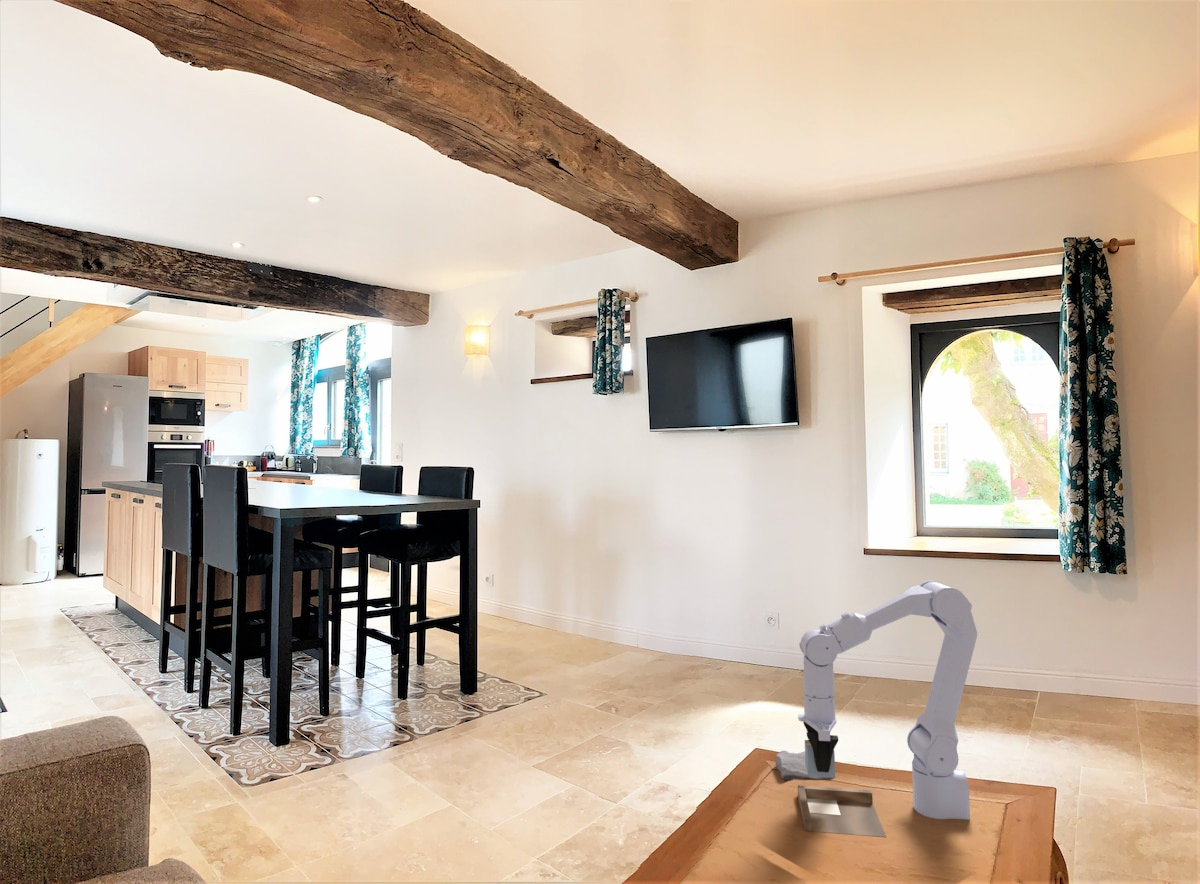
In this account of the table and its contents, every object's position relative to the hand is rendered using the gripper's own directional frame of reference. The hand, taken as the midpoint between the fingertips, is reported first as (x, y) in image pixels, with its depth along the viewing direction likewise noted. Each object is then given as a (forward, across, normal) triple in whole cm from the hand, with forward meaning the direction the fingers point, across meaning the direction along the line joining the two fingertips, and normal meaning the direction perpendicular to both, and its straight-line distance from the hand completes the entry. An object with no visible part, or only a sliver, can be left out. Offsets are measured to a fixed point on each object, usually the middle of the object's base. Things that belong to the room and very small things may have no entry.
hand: (821, 765), depth 137 cm
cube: (+1, 0, 0) cm, 1 cm away
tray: (+9, +3, +3) cm, 10 cm away
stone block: (+10, -17, -1) cm, 20 cm away
